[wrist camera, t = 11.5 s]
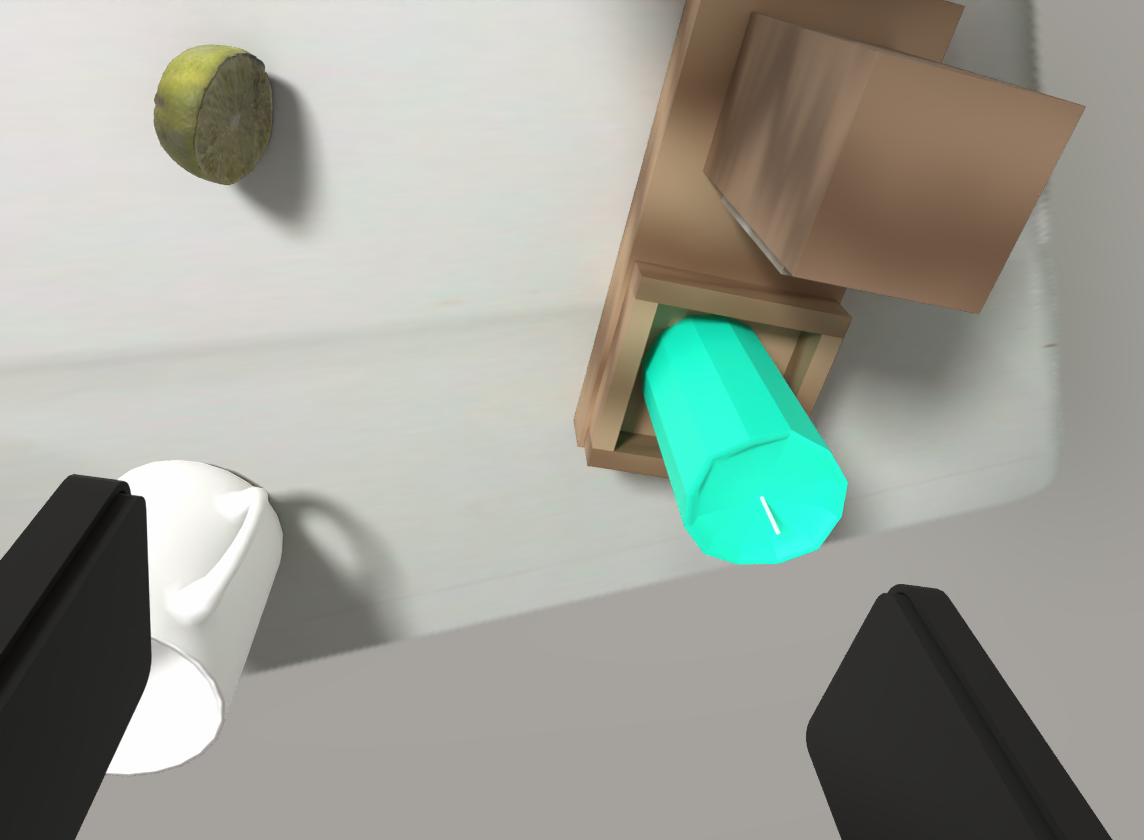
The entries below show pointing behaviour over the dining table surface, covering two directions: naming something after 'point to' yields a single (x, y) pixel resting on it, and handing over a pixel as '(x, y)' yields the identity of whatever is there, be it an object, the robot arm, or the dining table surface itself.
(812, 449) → the candle
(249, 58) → the lime
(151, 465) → the mug
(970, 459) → the dining table surface
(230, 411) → the dining table surface
